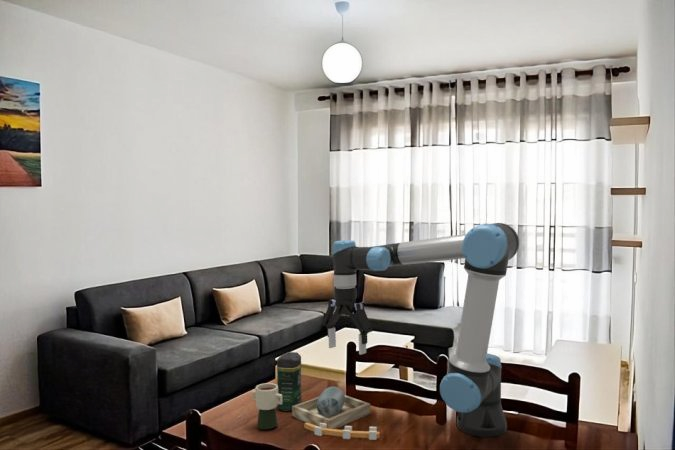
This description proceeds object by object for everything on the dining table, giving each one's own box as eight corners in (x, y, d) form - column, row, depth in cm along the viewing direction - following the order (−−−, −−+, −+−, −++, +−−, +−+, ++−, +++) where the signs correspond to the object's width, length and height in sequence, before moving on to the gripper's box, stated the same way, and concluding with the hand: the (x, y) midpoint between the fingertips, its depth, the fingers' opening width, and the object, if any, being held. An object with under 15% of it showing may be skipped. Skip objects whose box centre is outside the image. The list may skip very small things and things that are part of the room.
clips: (378, 434, 163) (378, 426, 163) (376, 441, 158) (375, 433, 158) (317, 429, 167) (317, 422, 167) (313, 436, 162) (313, 428, 162)
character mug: (288, 425, 171) (287, 385, 170) (277, 434, 164) (276, 392, 163) (258, 420, 175) (257, 381, 174) (246, 429, 168) (245, 388, 168)
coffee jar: (297, 412, 181) (296, 358, 180) (274, 411, 182) (273, 357, 182) (304, 402, 190) (303, 350, 190) (282, 401, 192) (282, 349, 191)
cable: (380, 436, 162) (380, 431, 162) (377, 441, 158) (377, 437, 158) (305, 426, 170) (305, 422, 169) (301, 431, 166) (301, 427, 166)
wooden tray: (370, 414, 179) (370, 403, 179) (328, 431, 165) (328, 420, 165) (333, 401, 191) (333, 391, 191) (292, 416, 177) (291, 406, 177)
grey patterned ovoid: (342, 414, 169) (331, 383, 172) (317, 425, 171) (305, 395, 174) (355, 409, 182) (344, 381, 185) (331, 420, 184) (320, 391, 187)
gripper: (381, 288, 172) (383, 353, 173) (326, 283, 189) (328, 342, 190) (366, 291, 167) (368, 359, 167) (311, 285, 184) (312, 347, 184)
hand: (347, 350), depth 179 cm, fingers open, 13 cm apart
